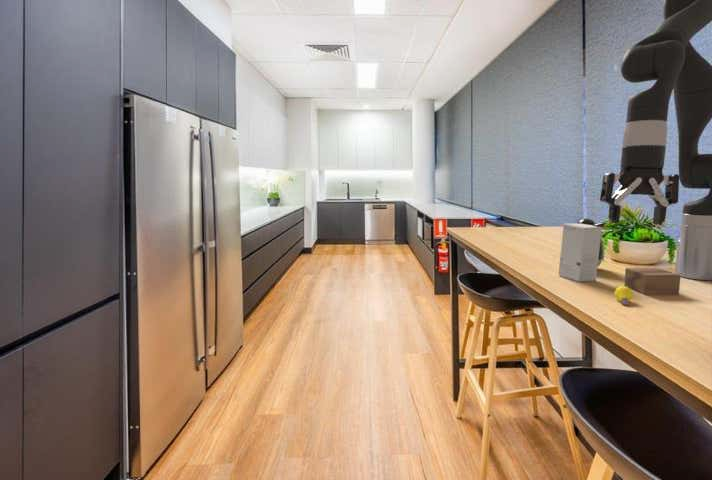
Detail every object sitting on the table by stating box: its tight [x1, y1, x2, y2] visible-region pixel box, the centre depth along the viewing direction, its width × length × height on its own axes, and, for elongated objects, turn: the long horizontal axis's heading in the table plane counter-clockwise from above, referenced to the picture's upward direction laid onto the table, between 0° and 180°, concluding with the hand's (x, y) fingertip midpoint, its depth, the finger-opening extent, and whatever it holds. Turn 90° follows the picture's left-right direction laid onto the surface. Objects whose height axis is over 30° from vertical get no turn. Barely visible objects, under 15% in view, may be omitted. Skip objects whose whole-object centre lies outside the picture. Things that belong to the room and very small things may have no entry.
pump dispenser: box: [576, 218, 606, 267], centre depth 132 cm, size 10×10×15 cm
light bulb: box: [614, 285, 634, 306], centre depth 97 cm, size 3×6×4 cm, turn 155°
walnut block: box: [623, 267, 681, 296], centre depth 106 cm, size 8×8×5 cm
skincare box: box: [558, 223, 603, 283], centre depth 119 cm, size 8×6×15 cm
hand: (635, 223), depth 92 cm, fingers open, 8 cm apart
